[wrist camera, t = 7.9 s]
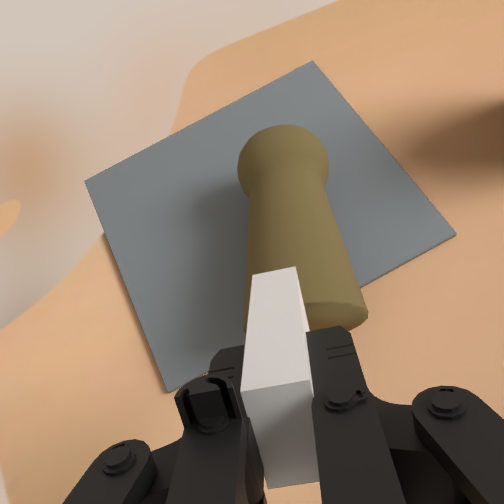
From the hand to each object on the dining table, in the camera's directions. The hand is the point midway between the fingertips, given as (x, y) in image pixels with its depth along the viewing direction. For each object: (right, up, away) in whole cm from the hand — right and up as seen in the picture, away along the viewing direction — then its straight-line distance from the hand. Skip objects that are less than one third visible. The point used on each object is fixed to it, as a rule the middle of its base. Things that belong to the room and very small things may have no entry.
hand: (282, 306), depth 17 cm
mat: (-1, +5, +13) cm, 14 cm away
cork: (+2, -2, +6) cm, 7 cm away
